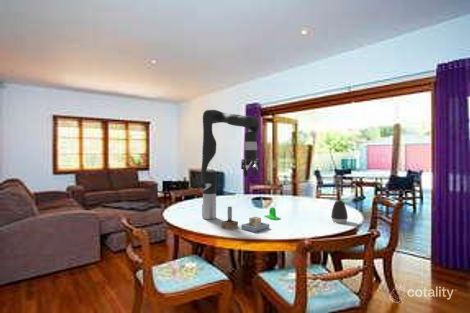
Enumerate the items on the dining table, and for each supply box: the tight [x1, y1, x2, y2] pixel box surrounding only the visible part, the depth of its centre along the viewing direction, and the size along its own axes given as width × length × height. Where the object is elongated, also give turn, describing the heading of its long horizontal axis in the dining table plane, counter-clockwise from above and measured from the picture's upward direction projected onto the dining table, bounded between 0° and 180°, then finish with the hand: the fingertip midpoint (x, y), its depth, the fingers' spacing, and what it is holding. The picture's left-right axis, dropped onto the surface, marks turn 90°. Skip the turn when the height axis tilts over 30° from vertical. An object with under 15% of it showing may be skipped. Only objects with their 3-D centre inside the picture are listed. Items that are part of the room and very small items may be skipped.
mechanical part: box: [264, 206, 281, 221], centre depth 206 cm, size 12×6×8 cm, turn 21°
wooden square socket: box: [221, 219, 239, 231], centre depth 180 cm, size 7×7×4 cm
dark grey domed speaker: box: [330, 199, 349, 224], centre depth 194 cm, size 10×10×15 cm
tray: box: [240, 221, 270, 234], centre depth 177 cm, size 11×13×3 cm
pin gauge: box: [227, 206, 233, 223], centre depth 181 cm, size 3×3×12 cm
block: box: [248, 216, 262, 227], centre depth 177 cm, size 5×5×6 cm
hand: (250, 176), depth 177 cm, fingers open, 8 cm apart
